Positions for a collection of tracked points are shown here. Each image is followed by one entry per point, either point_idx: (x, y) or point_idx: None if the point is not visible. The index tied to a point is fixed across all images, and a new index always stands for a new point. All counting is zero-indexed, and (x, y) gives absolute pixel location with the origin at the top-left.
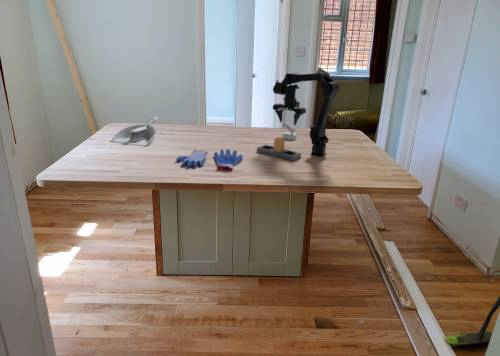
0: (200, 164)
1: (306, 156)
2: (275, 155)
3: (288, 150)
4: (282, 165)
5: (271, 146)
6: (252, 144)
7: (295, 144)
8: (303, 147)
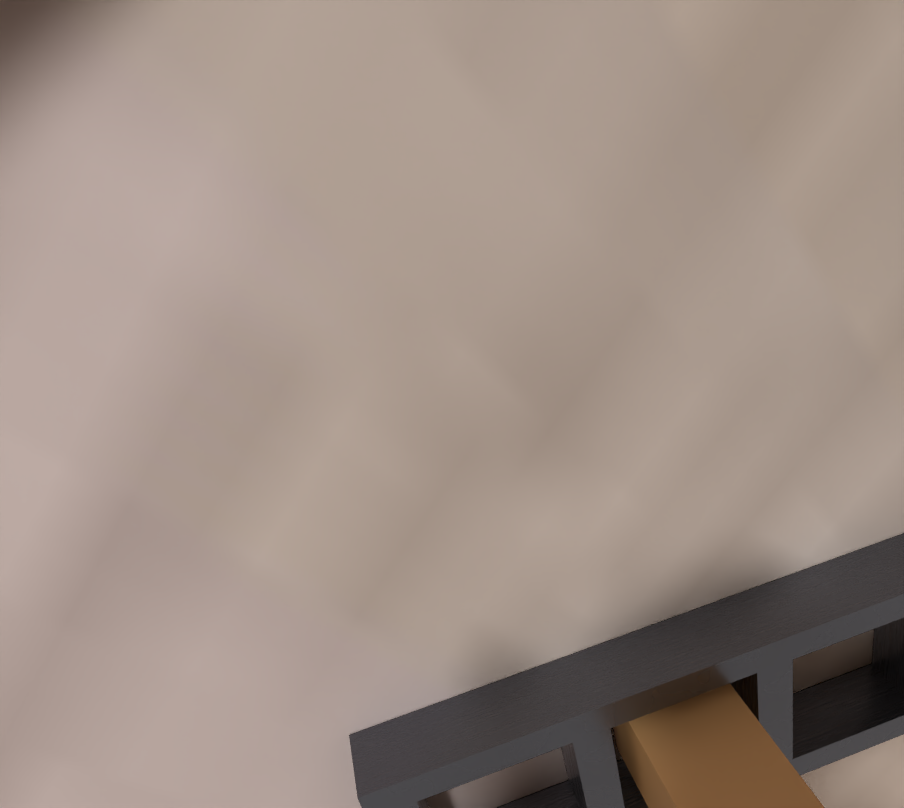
0: None
1: None
2: None
3: (789, 647)
4: (878, 800)
5: (500, 761)
6: (35, 804)
7: (450, 74)
8: (702, 95)
